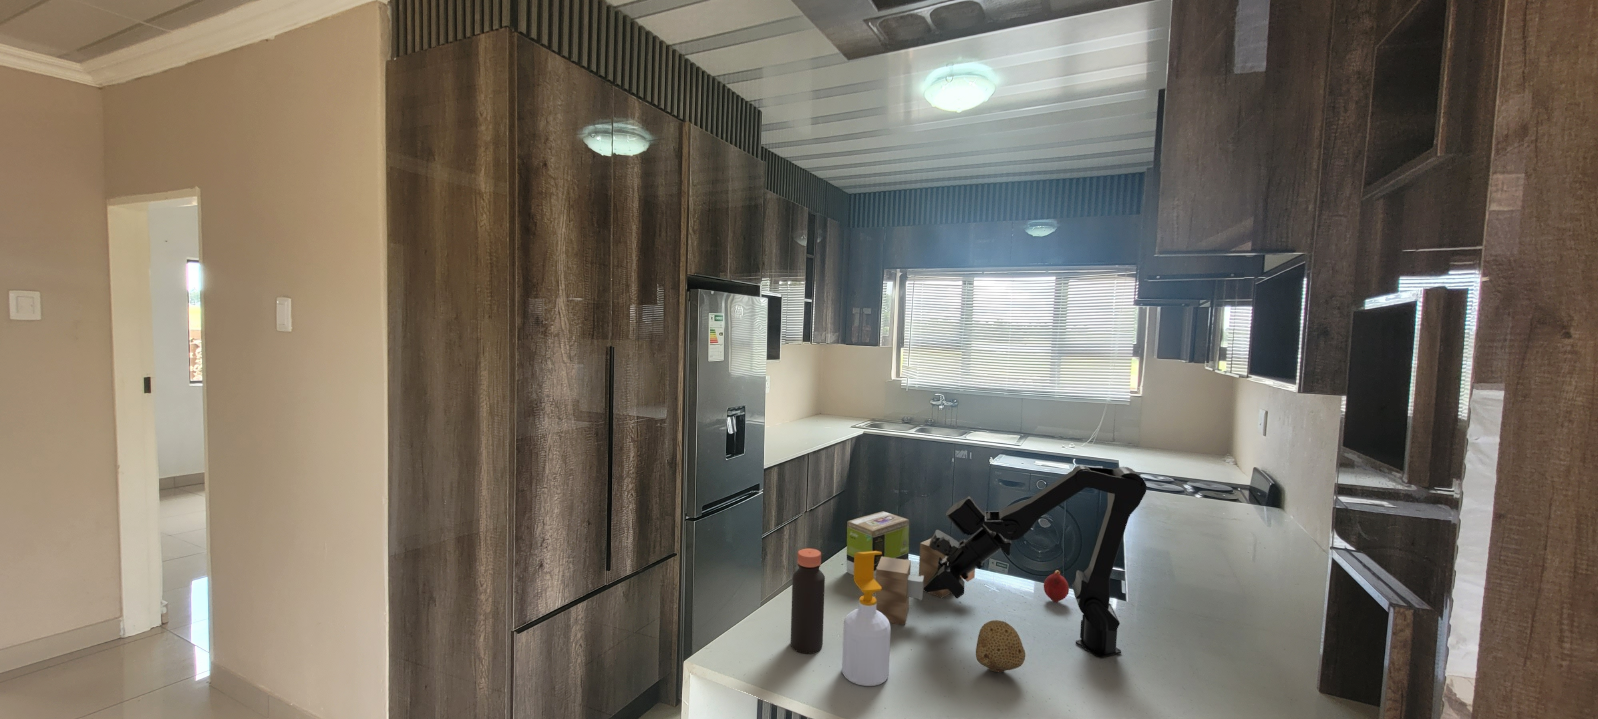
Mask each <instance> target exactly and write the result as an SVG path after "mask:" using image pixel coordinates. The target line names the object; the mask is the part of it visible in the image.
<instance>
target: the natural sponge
mask: <svg viewBox="0 0 1598 719" xmlns="http://www.w3.org/2000/svg"><path fill="white" fill-rule="evenodd" d="M978 633H979V634H978V636H977V642H976V647H975V658H976V660H977V662H978V663H979V664H980V665H981V666H982V667H985V668H986V669H989V670H990V671H991V672H995V673H1004V672H1006V671H1012V670H1015V669H1018V668H1020V667H1022V665H1023V664H1024V662H1025V661H1026V651H1025V648H1024V646H1023V643H1022V640H1021V637H1020V635H1019V633H1018V631H1017V630H1016V628H1014V627H1013V626H1011V624H1010V623H1008V622H1006V621H1002V620H997V619H995V620H990V621H987V622H985V623H984V624H983V625H982V626H981V628H980V630H979V632H978Z"/></svg>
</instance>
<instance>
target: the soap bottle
mask: <svg viewBox="0 0 1598 719" xmlns="http://www.w3.org/2000/svg"><path fill="white" fill-rule="evenodd" d="M879 554H882V552H879V551H869V552H857V553H855V556H854V575H853V581H854V583H855V585H856V586H857V587H858V588H859V590H860V591H861V593H863V595H862V596H860V597H859V601H858V608H856V609H854V610H852V611H851V612H849V613H848V614H847V615H846V616H845V618H844V620H843V633H842V635H843V637H842V639H843V640H842V662H841V666H842V667H841V673H842V675H843V676H844V677H845V679H847V680H848V681H849V682H850V683H853V684H856V685H858V686H864V687H874V686H879V685H881V684H883V683H885V682H886V681H887V679H888V678H889V674H890V654H891V653H890V652H891V631H892V630H891V623H889V620H888V619H887V618H886V617H885V616H884V615H883V614H882V613H881V612H879V611H878V610H876V598H875V596H873V594H875V591H881V590H882V587H881V586H880V585H879V584H878V583H877V582H876V581H875V579H874V556H875V555H879Z"/></svg>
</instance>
